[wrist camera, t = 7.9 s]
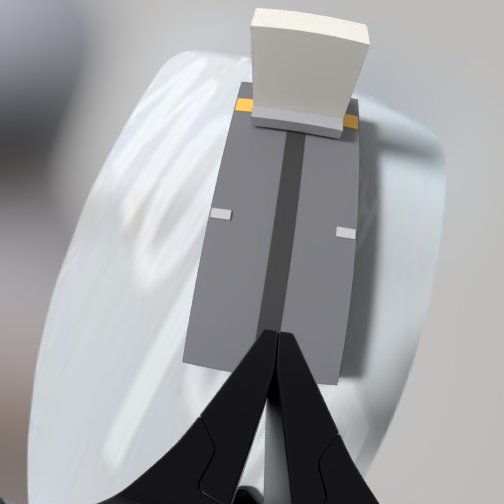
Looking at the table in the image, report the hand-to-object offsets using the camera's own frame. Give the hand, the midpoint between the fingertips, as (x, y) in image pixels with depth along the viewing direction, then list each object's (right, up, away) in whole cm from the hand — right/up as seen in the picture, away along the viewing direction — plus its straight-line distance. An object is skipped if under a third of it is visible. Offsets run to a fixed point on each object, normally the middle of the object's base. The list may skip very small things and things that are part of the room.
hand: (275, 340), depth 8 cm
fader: (+3, +12, +11) cm, 17 cm away
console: (+1, +5, +12) cm, 13 cm away
